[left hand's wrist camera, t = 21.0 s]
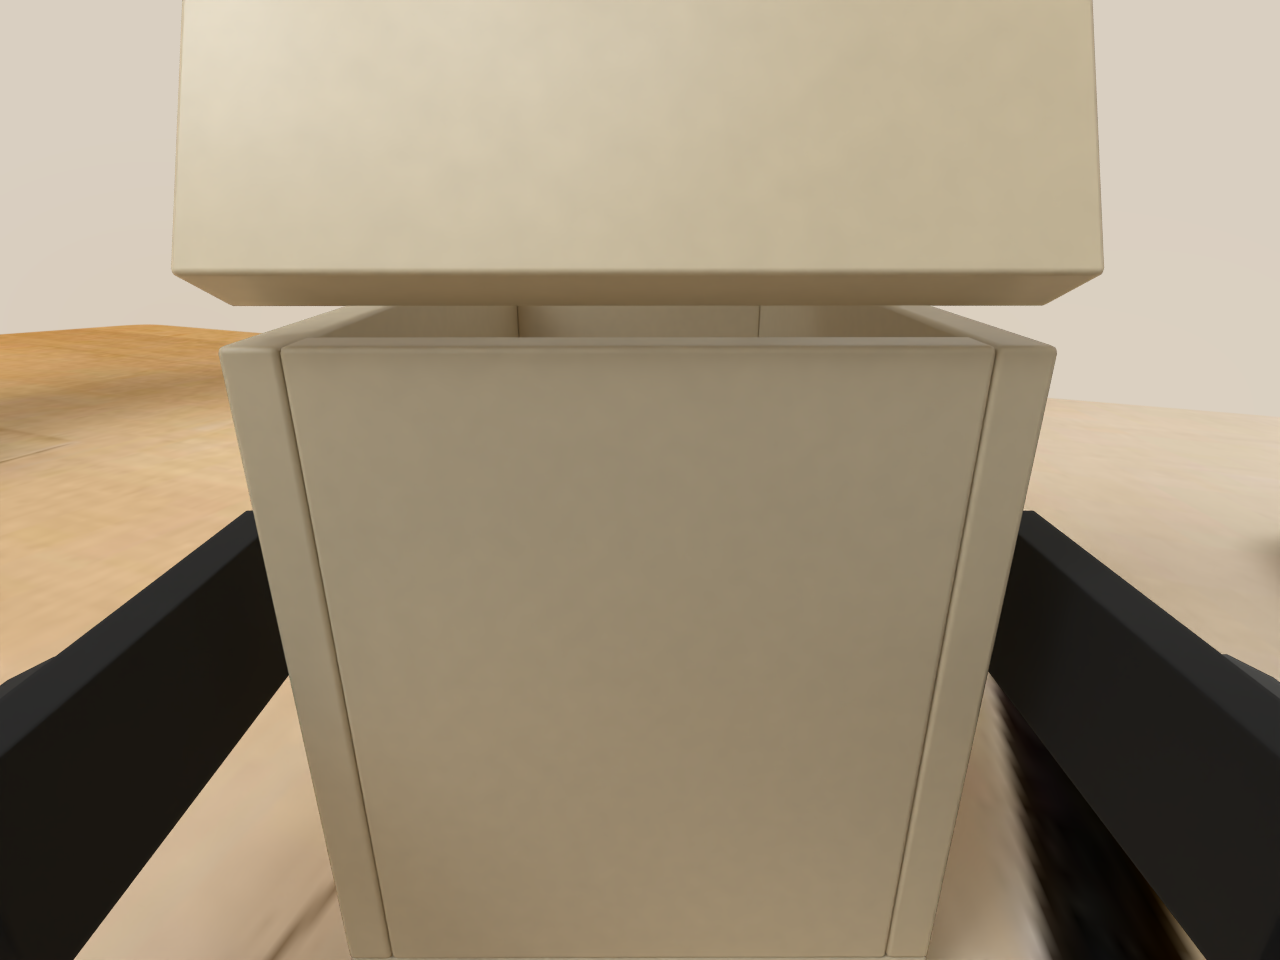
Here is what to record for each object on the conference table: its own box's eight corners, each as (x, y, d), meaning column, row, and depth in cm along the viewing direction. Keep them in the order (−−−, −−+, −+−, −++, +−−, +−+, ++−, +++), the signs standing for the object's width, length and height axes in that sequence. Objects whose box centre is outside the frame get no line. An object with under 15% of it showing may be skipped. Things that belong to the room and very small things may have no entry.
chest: (516, 545, 28) (496, 256, 24) (761, 545, 28) (780, 256, 24) (355, 988, 12) (213, 347, 8) (921, 987, 12) (1062, 345, 8)
